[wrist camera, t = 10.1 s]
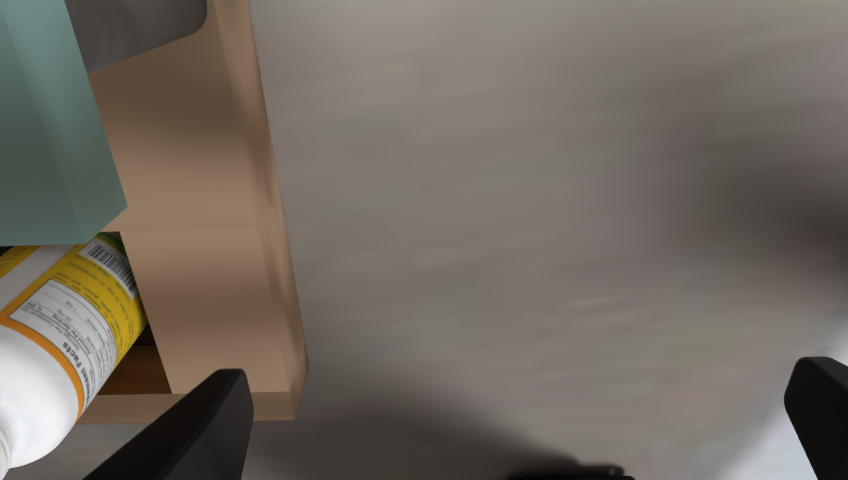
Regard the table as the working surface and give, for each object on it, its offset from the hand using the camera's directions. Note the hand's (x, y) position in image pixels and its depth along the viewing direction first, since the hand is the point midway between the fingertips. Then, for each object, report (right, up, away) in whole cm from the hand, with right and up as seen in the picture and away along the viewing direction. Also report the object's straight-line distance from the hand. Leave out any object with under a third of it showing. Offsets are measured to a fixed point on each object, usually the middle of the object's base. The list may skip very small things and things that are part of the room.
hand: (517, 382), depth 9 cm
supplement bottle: (-15, +1, +13) cm, 20 cm away
